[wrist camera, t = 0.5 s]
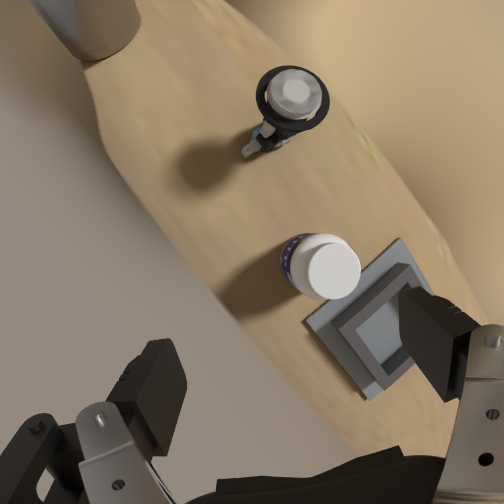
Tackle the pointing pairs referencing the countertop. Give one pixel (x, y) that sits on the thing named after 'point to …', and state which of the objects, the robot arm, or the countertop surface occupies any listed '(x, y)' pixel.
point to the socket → (371, 321)
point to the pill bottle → (320, 266)
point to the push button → (287, 106)
